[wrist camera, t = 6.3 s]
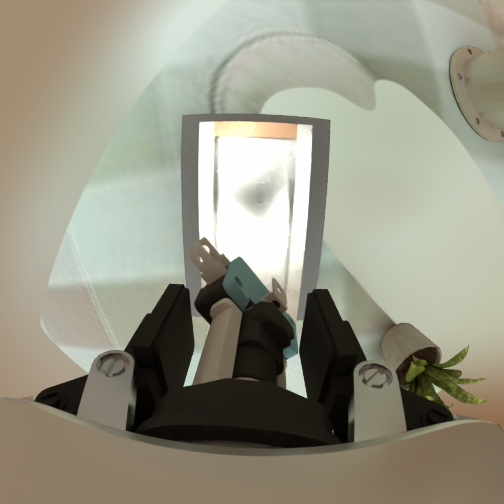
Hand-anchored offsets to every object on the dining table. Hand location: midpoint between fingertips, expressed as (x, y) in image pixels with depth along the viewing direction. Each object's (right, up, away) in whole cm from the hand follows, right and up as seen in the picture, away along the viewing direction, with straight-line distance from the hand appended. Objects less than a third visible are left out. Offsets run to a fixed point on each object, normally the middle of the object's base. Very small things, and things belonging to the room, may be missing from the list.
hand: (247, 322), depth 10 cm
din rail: (0, +5, +14) cm, 15 cm away
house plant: (+18, -8, +20) cm, 28 cm away
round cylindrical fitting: (0, +1, +3) cm, 3 cm away
